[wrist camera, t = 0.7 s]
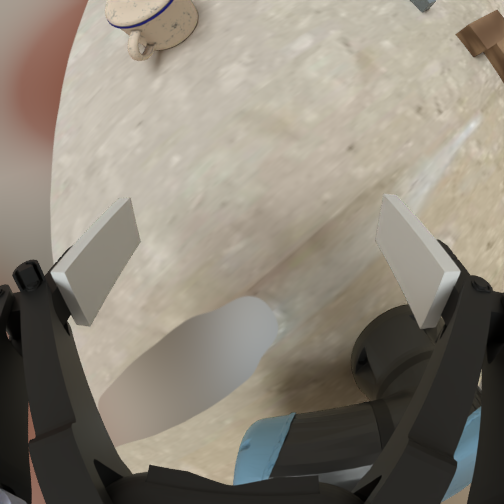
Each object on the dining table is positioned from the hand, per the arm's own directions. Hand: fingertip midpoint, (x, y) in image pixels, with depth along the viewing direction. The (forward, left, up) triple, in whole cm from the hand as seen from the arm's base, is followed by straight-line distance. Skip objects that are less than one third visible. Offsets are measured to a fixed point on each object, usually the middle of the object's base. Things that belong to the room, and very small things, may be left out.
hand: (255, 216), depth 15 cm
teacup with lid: (+26, -3, -19) cm, 33 cm away
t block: (-3, -41, -19) cm, 45 cm away
